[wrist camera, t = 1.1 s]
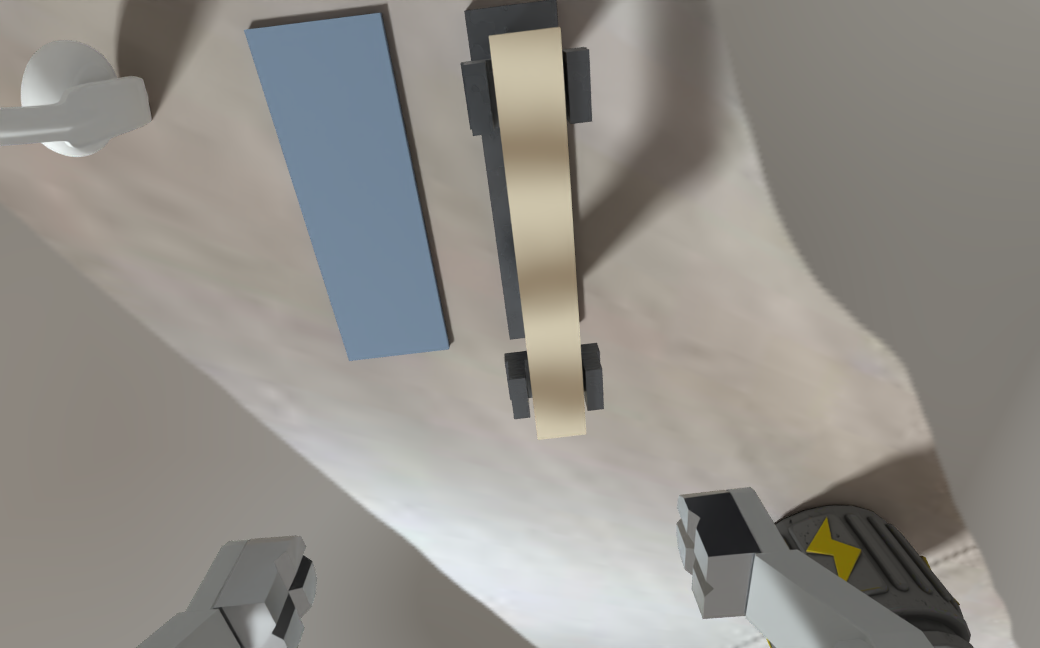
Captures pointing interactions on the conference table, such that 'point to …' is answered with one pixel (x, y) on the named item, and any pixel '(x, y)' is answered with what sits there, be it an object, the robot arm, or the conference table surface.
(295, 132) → the mat
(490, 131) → the hook rack
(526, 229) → the rail
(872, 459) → the conference table surface
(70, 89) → the headset
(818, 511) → the decorative lamp
